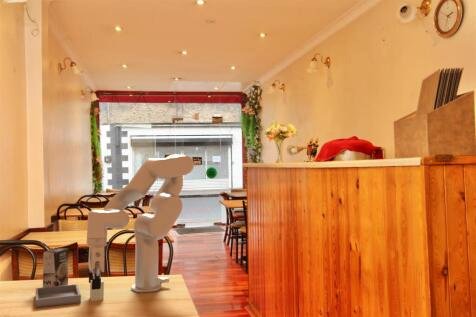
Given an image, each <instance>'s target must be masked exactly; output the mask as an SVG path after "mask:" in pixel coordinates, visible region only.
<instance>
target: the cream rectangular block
mask: <svg viewBox="0 0 476 317" xmlns="http://www.w3.org/2000/svg"><path fill="white" fill-rule="evenodd" d="M89 284H90V285H89V287H90V288H89V298H90V301H91V302H95V301H96V302H97V300H98V301H103V300H105V299H104V292H105V291H104V289H105V288H104V286H105V282H104V279H103V278H101V288H100V289H94V290H92V280H90V283H89Z"/></svg>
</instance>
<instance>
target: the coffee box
mask: <svg viewBox="0 0 476 317" xmlns="http://www.w3.org/2000/svg"><path fill="white" fill-rule="evenodd" d="M42 258H43V259H42V261H43V262H42V288H43V287H53V286H63V285H69V248H68V247H67V248H65V247H59V248H58V247H55V248H52V249H49V250H46V251H43V257H42Z"/></svg>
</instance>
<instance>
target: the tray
mask: <svg viewBox="0 0 476 317" xmlns="http://www.w3.org/2000/svg"><path fill="white" fill-rule="evenodd" d="M81 303H82V294H81V292H80V288H79V285H78V283H76V284H68V285H63V286H53V287H43V286H42V287H36V288H35V309H39V308H40V309H41V308H49V307H56V306H57V307H58V306H63V305H74V304H81Z"/></svg>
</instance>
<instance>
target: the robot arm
mask: <svg viewBox="0 0 476 317" xmlns="http://www.w3.org/2000/svg"><path fill="white" fill-rule="evenodd" d="M194 166H195V162H194V160H193V158H192V157H191V156H189V155H187V154H171V155H166V157H165V158H158V157H157V158H153V157H151V158H147V159H146V160H145V161H144V162H143V163H142V165H141V166H140V167H139V169H138V170H137V171H136V173H135V174H134V175H133V177H132V179H131V180H130V181H129V183H127V185H125V186H123V187H122V188H121V190H119V191H118V192H116V194H114V195H113V196H112V198H110V200H109V201H108V203H107V204H106V205H105V206H104V208H103V209H93V210H89V211H88V213H87V228H86V231H87V232H86V247H89V248H88V249H89V250H88V269H89V273H88V284H90V280H92V290H94V289H100V288H101V279H102V274H101V273H104V272H105V247H107V246H108V244H107V242H108V241H107V240H108V229H116V230H118V229H123V228H124V229H125V227H127V226H128V225H129V222H130V215H129V214H128V213H127V212H126V211H125V209H126V208H127V207H128V206H130V205H131V204H132V203H134V202H136V201H138V200H140V199H142V198H144V197H145V196H146V195H147V194H148V192H149V191H150V189H151V188H152V187H153V185H154V184H155V182H156V181H158V179H159V180H160V179H161V180H164V181H163V183H162V184H161V186H160V187H159V189H158V190H157V192H156V193H155V195H154V196H153V198H152V200H151V201H150V205H149V207H150V210H151V211H152V212H153V213H154V214H153V213H141V214H140V215H138V216H137V217H136V218H135V220H134V223H133V232H134V234H133V235H134V238H135V239H134V240H135V241H134V242H135V252H134V253H135V254H134V255H135V258H134V259H135V261H134V263H135V265H134V268H135V269H134V271H135V272H134V277H135V278H134V283H133V284H132V285H131V287H130V288H131V291H133V292H135V293H153V292H158V291H160V290H161V289H162V286H163V285H162V284H166V283H169V282H170V278H169V277H159V240H162V239H164V238H165V237H166V236H167V235H168V234H169V233H170V231H171V229H172V228H173V226H174V225H175V223H176V221H177V220H178V219H179V217H180V215H181V213H182V210H183V201H182V198H180V197H179V196H180V193H181V192H182V190H183V186H184V179H183V176H186V175H189V174H190V173H191V172H193V170H194Z"/></svg>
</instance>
